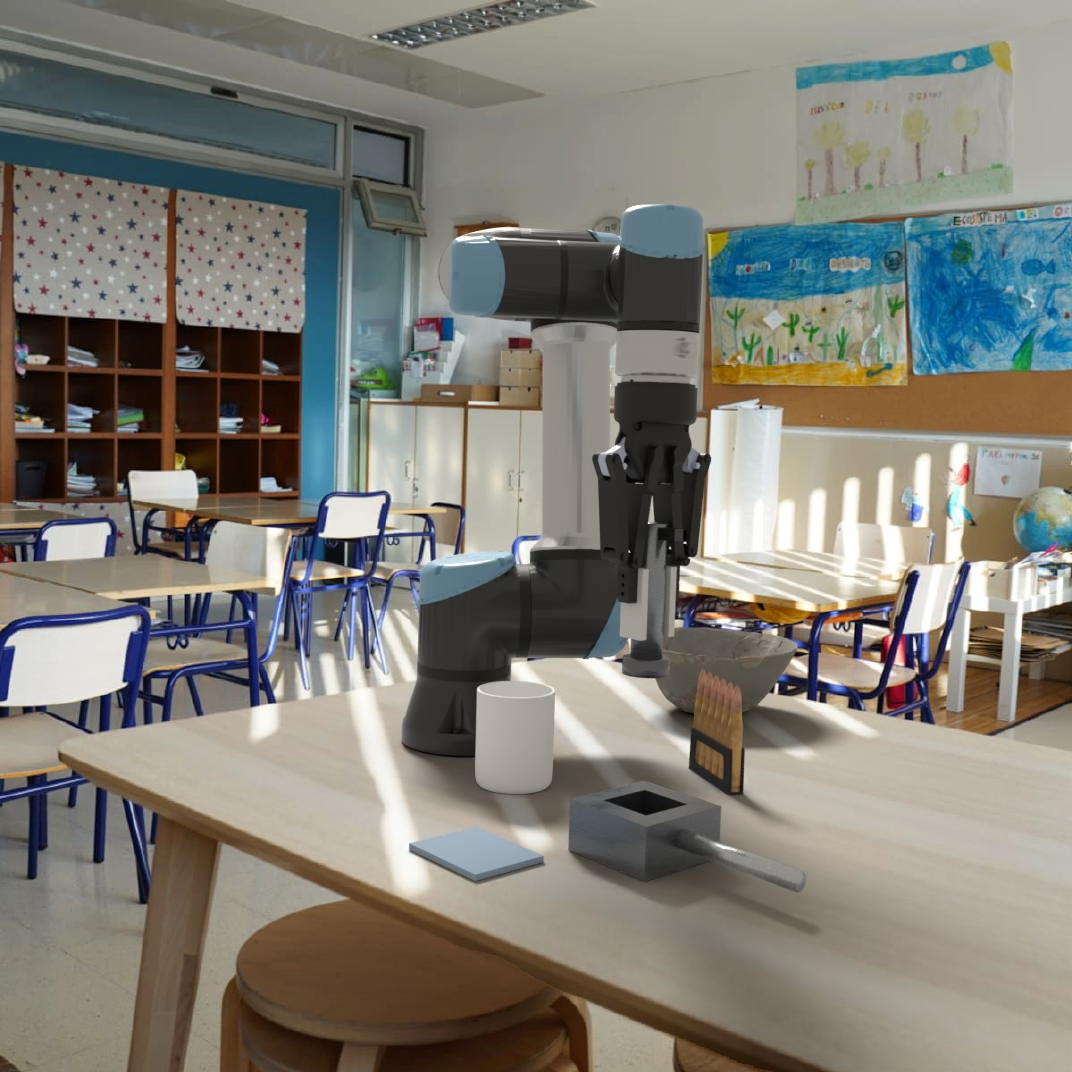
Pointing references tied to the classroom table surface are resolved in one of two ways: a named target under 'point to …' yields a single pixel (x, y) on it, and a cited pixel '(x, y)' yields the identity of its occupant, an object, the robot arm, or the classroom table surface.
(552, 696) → the mug
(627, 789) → the block
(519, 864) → the mat
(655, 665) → the key
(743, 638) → the ceramic bowl
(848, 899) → the classroom table surface
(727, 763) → the ammunition clip
